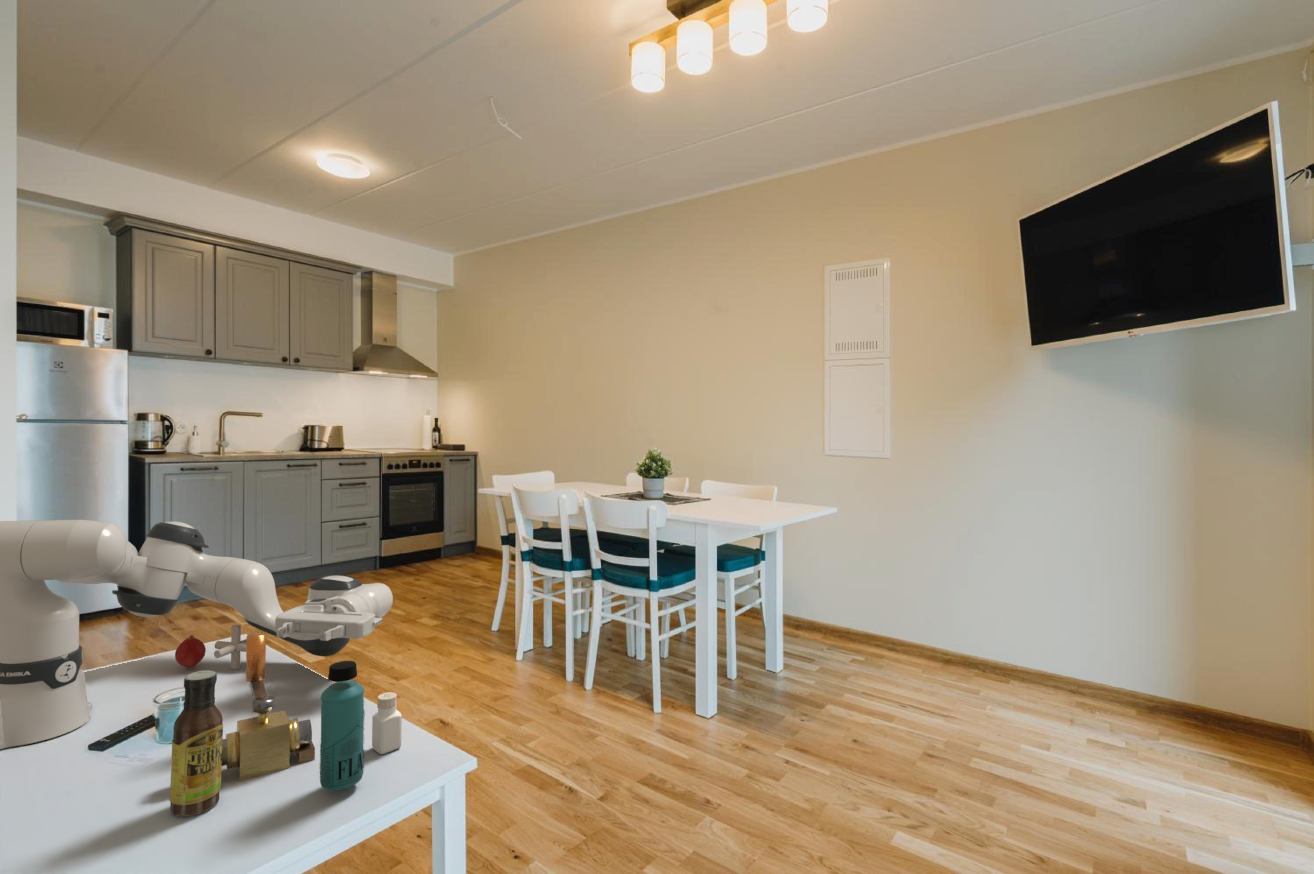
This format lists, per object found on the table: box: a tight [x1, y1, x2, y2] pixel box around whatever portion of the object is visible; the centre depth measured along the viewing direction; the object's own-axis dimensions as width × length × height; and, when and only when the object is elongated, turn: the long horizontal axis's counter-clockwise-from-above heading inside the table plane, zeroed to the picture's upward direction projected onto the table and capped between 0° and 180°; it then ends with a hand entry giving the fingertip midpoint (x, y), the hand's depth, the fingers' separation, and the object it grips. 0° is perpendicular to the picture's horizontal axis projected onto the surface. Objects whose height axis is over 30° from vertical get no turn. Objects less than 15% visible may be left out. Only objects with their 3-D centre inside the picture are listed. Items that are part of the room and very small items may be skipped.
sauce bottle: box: [169, 670, 224, 817], centre depth 96 cm, size 6×6×20 cm
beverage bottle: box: [318, 660, 366, 791], centre depth 101 cm, size 6×7×20 cm
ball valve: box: [222, 710, 316, 782], centre depth 106 cm, size 18×6×10 cm, turn 128°
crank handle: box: [245, 632, 276, 714], centre depth 112 cm, size 15×3×9 cm, turn 38°
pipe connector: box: [213, 624, 247, 670], centre depth 150 cm, size 10×10×10 cm
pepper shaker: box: [371, 691, 403, 755], centre depth 114 cm, size 4×4×10 cm
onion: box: [174, 634, 207, 670], centre depth 149 cm, size 6×6×8 cm
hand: (301, 635), depth 129 cm, fingers open, 8 cm apart
